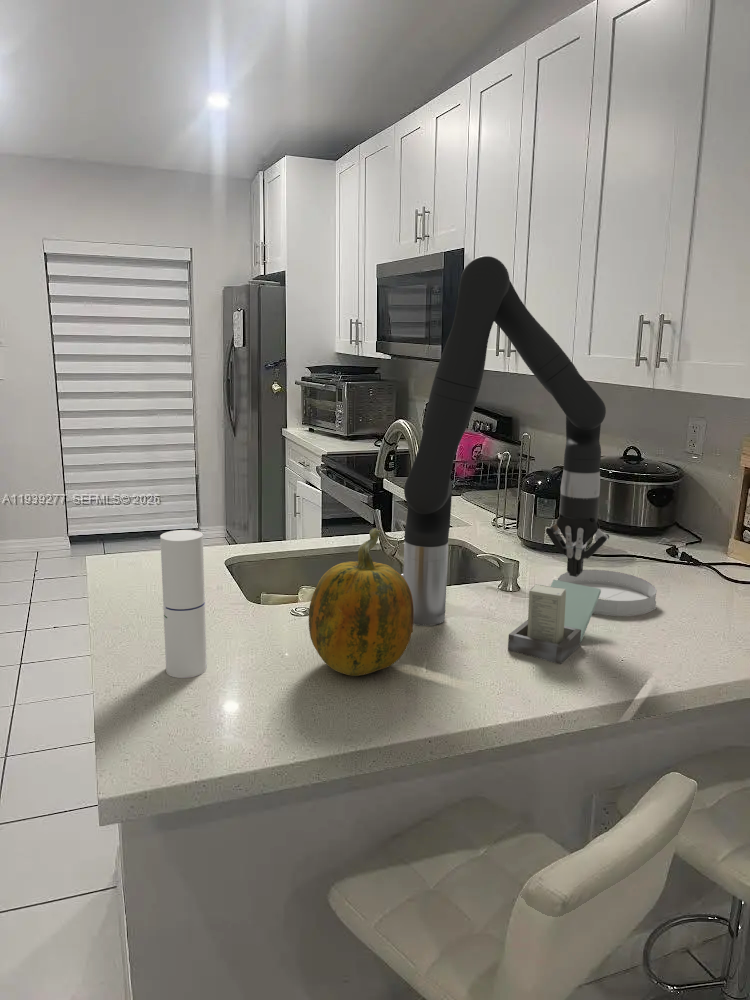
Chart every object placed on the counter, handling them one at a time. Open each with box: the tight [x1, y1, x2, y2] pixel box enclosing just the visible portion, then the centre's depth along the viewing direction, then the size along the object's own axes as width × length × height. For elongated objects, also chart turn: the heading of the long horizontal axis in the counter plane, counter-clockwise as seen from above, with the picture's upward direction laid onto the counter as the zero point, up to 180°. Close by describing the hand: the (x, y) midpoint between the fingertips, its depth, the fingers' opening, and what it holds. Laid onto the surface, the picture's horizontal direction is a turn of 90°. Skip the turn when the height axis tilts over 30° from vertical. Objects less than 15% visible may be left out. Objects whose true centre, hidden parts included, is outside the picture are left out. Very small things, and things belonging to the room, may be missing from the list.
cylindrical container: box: [159, 529, 208, 679], centre depth 133 cm, size 7×7×25 cm
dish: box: [557, 569, 657, 617], centre depth 173 cm, size 22×22×5 cm
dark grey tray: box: [507, 619, 581, 665], centre depth 150 cm, size 20×28×4 cm
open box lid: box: [549, 579, 601, 644], centre depth 154 cm, size 10×13×1 cm
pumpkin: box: [308, 527, 414, 677], centre depth 135 cm, size 19×19×25 cm
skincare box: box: [527, 584, 566, 645], centre depth 144 cm, size 6×4×12 cm
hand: (574, 575), depth 154 cm, fingers closed
